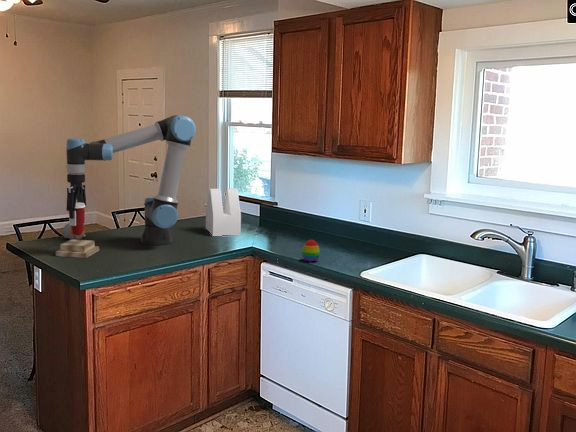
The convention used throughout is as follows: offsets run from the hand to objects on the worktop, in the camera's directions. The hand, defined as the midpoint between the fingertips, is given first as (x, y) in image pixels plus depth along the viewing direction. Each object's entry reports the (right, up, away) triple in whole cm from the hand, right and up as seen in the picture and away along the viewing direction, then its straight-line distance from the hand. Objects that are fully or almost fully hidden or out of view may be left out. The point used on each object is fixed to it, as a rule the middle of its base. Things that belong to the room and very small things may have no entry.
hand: (77, 223), depth 253 cm
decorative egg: (+106, -18, +6) cm, 108 cm away
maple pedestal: (0, -14, +2) cm, 14 cm away
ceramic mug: (-13, -8, +32) cm, 35 cm away
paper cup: (0, -5, +1) cm, 5 cm away
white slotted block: (+59, -6, +61) cm, 85 cm away
